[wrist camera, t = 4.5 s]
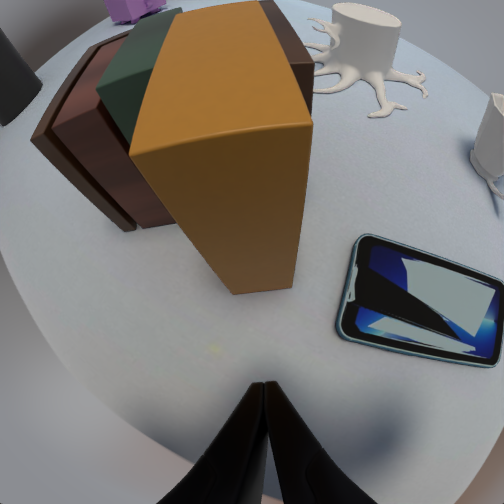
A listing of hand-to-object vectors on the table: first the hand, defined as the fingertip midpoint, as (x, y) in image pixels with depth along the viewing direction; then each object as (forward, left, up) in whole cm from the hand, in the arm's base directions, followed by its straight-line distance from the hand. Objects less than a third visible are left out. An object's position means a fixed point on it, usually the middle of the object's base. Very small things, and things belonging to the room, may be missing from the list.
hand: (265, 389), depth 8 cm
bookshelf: (+13, +12, -8) cm, 19 cm away
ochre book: (+9, +5, -8) cm, 13 cm away
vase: (+20, +69, -9) cm, 72 cm away
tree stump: (+35, +2, -9) cm, 36 cm away
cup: (+24, -15, -9) cm, 29 cm away
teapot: (+55, +59, -9) cm, 81 cm away
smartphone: (+8, -10, -8) cm, 15 cm away
